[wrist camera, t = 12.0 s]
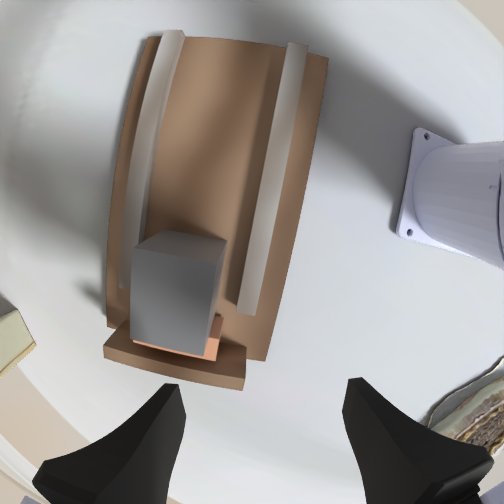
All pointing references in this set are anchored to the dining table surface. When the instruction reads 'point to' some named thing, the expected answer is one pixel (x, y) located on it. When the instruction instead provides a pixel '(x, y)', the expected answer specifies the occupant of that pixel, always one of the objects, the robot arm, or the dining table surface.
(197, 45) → the rail board
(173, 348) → the block
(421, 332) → the dining table surface
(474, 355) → the dining table surface
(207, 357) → the rail latch
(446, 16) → the dining table surface
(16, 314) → the skincare box
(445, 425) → the pie
